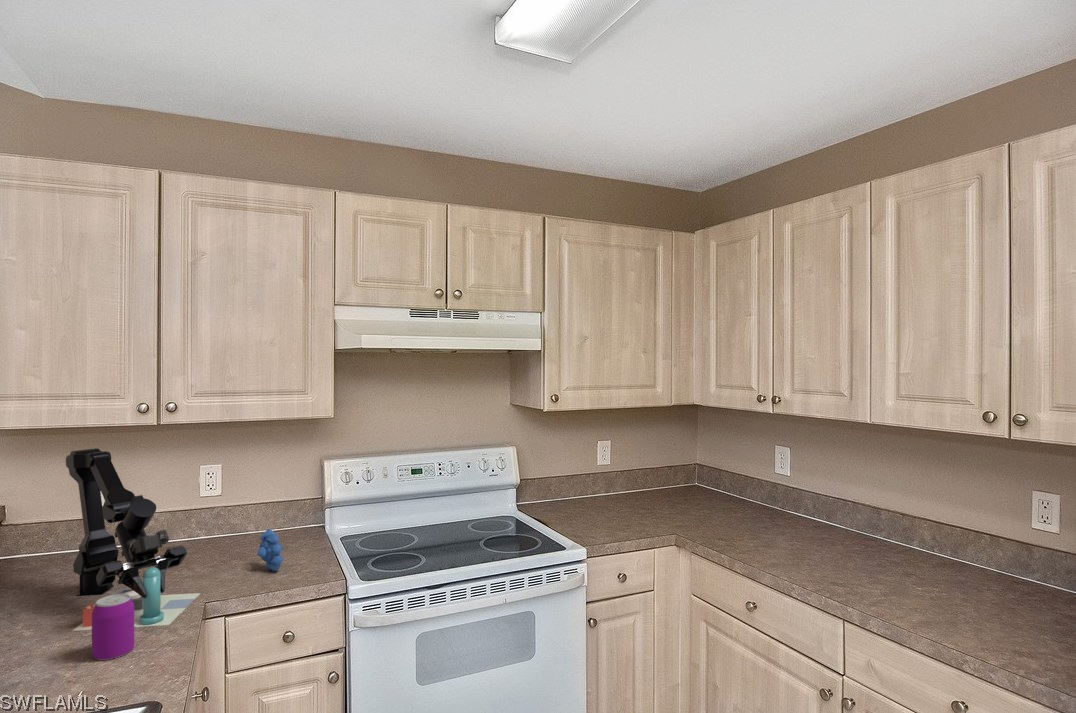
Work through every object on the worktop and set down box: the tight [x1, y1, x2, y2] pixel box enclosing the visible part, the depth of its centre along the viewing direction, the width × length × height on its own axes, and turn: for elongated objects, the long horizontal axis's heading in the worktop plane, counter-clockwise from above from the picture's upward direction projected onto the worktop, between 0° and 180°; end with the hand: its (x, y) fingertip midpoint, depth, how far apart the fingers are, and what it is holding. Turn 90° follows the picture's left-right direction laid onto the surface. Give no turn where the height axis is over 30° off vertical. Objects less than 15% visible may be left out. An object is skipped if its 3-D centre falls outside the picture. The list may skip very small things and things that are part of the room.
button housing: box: [112, 587, 143, 610], centre depth 163 cm, size 9×9×2 cm
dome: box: [124, 591, 141, 599], centre depth 163 cm, size 6×6×2 cm
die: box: [82, 602, 96, 627], centre depth 152 cm, size 4×4×4 cm
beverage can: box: [91, 593, 135, 661], centre depth 137 cm, size 8×8×12 cm
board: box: [72, 592, 201, 632], centre depth 159 cm, size 21×20×1 cm
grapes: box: [256, 528, 284, 572], centre depth 189 cm, size 12×7×12 cm, turn 48°
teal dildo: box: [140, 566, 164, 625], centre depth 153 cm, size 5×5×13 cm
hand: (154, 594), depth 152 cm, fingers closed on teal dildo, 4 cm apart
